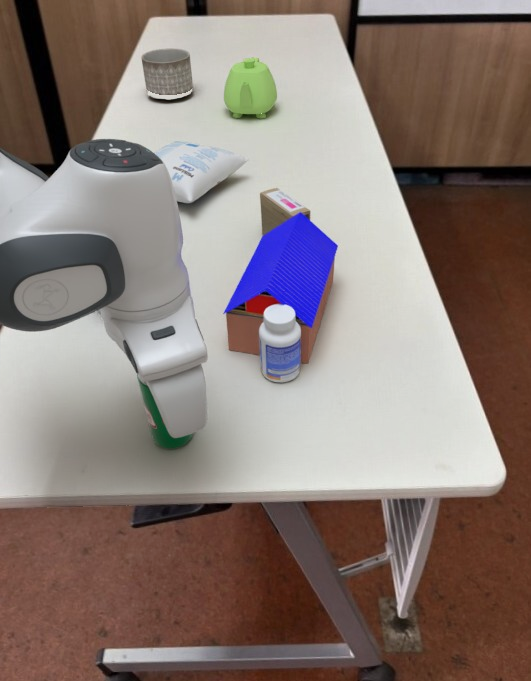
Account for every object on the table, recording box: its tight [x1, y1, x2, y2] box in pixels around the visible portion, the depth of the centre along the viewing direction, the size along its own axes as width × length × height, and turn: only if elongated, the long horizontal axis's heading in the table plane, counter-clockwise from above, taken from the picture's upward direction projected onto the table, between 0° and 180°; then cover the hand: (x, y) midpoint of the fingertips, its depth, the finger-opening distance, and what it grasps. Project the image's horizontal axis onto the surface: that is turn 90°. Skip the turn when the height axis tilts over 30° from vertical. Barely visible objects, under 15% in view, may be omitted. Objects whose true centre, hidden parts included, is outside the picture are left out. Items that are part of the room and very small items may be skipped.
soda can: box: [136, 373, 194, 450], centre depth 65 cm, size 5×5×12 cm
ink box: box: [259, 187, 311, 236], centre depth 98 cm, size 10×4×8 cm, turn 32°
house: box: [222, 212, 339, 364], centre depth 82 cm, size 12×20×12 cm, turn 165°
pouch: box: [153, 140, 250, 204], centre depth 114 cm, size 8×19×20 cm
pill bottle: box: [259, 304, 302, 383], centre depth 74 cm, size 5×5×10 cm
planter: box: [140, 48, 194, 95], centre depth 154 cm, size 13×13×10 cm
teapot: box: [223, 57, 278, 119], centre depth 143 cm, size 20×13×13 cm
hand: (166, 401), depth 65 cm, fingers closed on soda can, 5 cm apart
